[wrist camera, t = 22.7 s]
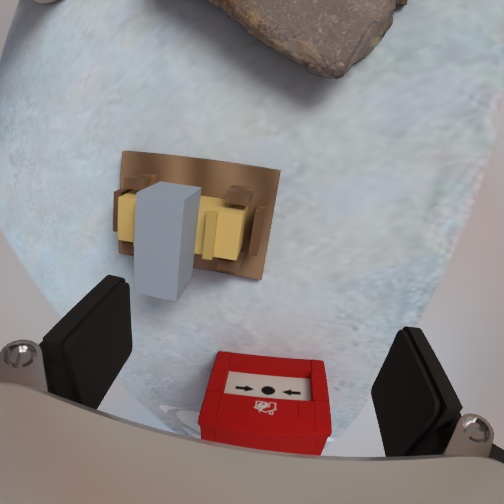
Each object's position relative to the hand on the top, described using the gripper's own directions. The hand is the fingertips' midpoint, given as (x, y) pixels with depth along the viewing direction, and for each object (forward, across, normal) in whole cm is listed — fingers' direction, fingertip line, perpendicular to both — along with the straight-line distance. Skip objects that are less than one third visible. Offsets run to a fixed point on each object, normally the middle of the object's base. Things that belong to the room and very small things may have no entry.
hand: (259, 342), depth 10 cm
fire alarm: (+31, -4, +30) cm, 43 cm away
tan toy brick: (+29, +10, +5) cm, 31 cm away
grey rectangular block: (+23, +10, +5) cm, 26 cm away
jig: (+30, +10, +5) cm, 32 cm away
